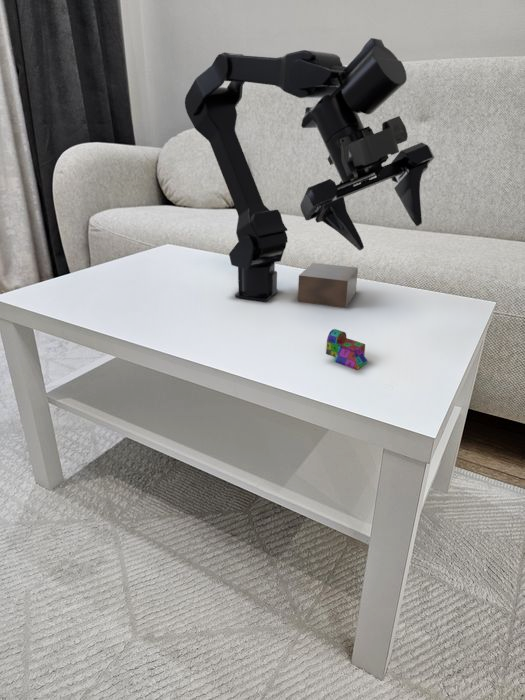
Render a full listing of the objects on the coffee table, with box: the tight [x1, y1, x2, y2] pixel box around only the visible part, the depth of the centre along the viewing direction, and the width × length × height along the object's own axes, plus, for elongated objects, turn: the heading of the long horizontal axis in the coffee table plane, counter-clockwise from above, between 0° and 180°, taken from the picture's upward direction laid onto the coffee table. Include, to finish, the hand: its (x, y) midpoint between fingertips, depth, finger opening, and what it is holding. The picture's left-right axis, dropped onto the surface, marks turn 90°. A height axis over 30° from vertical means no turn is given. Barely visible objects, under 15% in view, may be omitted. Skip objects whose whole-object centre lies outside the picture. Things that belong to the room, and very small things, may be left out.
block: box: [325, 328, 369, 371], centre depth 67 cm, size 6×4×3 cm
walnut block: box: [297, 262, 359, 309], centre depth 89 cm, size 9×9×5 cm
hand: (390, 237), depth 66 cm, fingers open, 9 cm apart
